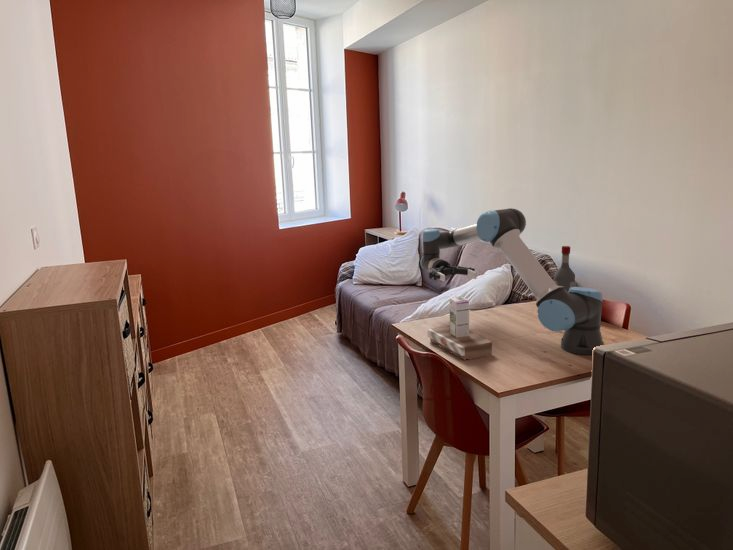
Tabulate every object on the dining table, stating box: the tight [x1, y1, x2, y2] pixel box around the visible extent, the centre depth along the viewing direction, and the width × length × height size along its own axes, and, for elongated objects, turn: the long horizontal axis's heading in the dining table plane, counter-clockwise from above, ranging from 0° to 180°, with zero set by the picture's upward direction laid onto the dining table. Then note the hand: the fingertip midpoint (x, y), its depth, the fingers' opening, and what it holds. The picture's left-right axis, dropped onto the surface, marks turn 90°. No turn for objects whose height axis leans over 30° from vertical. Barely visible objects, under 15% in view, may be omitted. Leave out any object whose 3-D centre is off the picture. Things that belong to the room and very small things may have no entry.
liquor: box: [553, 245, 576, 292], centre depth 247 cm, size 9×9×30 cm
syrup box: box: [449, 296, 470, 338], centre depth 202 cm, size 6×6×14 cm
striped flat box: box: [427, 324, 493, 361], centre depth 204 cm, size 24×14×5 cm, turn 24°
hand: (460, 277), depth 213 cm, fingers open, 13 cm apart
